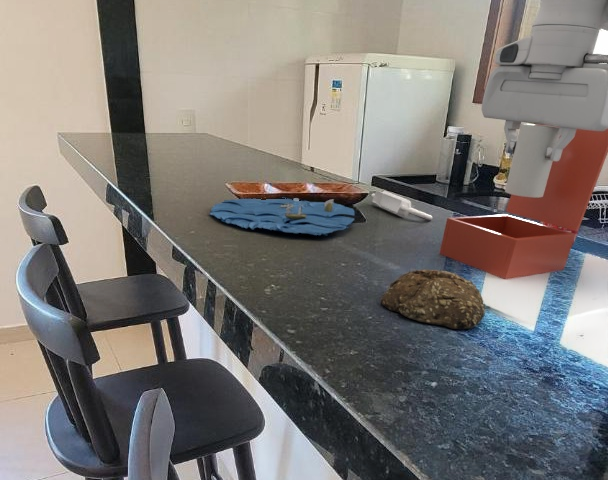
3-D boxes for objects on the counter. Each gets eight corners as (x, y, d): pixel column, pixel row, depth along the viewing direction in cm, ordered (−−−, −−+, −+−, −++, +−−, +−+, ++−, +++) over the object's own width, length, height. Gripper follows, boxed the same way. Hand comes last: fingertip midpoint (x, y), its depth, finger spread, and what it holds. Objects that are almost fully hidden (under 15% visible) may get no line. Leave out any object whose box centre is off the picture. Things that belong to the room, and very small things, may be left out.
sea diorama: (238, 249, 87) (238, 217, 85) (194, 206, 111) (193, 180, 108) (390, 239, 98) (394, 211, 96) (321, 202, 122) (323, 178, 119)
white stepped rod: (435, 229, 117) (442, 212, 116) (407, 220, 113) (414, 202, 112) (388, 208, 133) (394, 193, 132) (362, 199, 129) (367, 184, 128)
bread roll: (478, 300, 72) (488, 265, 70) (485, 336, 61) (497, 295, 59) (385, 285, 74) (391, 250, 72) (376, 316, 63) (383, 277, 61)
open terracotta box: (504, 284, 80) (516, 239, 77) (438, 258, 90) (447, 217, 87) (562, 274, 89) (575, 234, 85) (496, 251, 98) (506, 214, 95)
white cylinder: (519, 189, 88) (536, 124, 83) (550, 196, 84) (569, 128, 79) (497, 191, 85) (513, 122, 80) (528, 198, 81) (547, 126, 76)
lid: (616, 122, 78) (619, 122, 79) (536, 113, 88) (539, 114, 89) (575, 231, 85) (578, 231, 86) (505, 211, 95) (508, 211, 95)
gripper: (643, 57, 69) (606, 168, 76) (512, 55, 84) (491, 148, 90) (618, 51, 66) (582, 168, 72) (487, 50, 81) (466, 147, 87)
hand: (530, 156), depth 81 cm, fingers closed on white cylinder, 6 cm apart
